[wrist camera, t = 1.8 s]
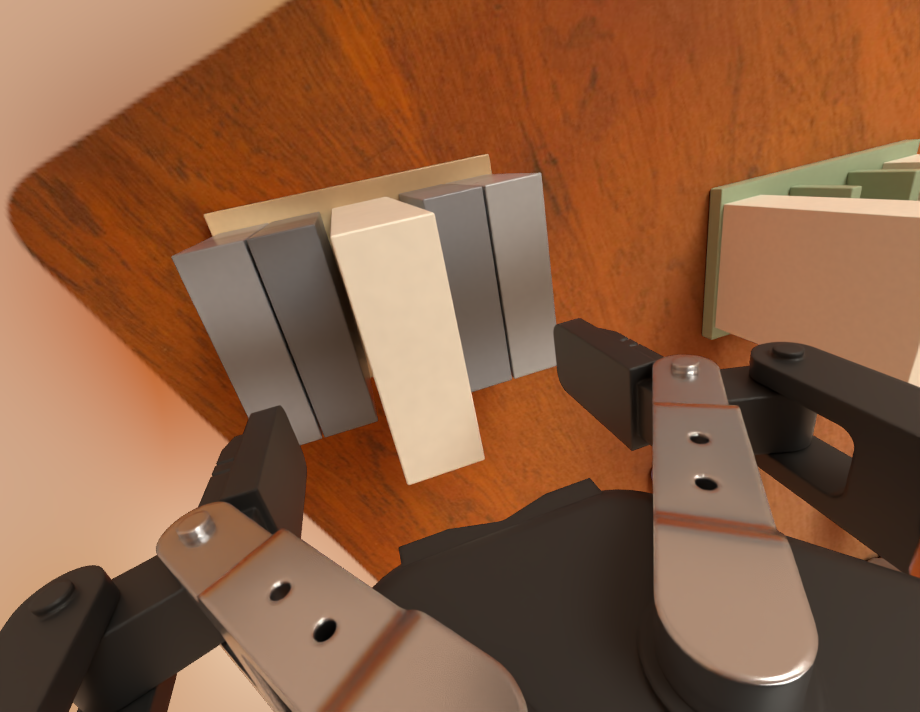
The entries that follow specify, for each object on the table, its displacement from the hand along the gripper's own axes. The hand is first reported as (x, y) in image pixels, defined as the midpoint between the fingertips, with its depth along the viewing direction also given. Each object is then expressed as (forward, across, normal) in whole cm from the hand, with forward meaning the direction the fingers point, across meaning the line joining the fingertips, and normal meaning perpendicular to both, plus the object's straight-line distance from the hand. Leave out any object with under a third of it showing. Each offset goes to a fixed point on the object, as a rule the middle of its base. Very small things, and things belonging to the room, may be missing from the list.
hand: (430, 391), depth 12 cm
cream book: (+14, 0, 0) cm, 14 cm away
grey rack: (+15, 0, 0) cm, 15 cm away
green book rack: (+15, -32, +5) cm, 35 cm away
